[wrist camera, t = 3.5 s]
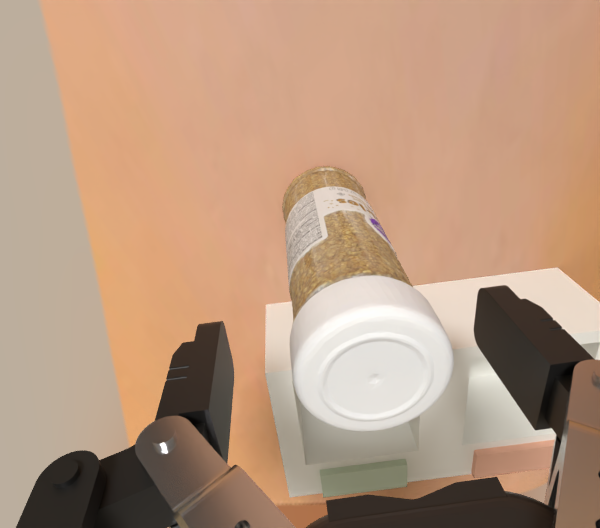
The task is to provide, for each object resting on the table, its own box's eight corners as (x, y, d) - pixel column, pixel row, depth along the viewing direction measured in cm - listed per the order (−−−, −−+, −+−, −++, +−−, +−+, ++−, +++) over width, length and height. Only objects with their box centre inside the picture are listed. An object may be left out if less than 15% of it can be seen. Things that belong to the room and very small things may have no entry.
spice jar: (381, 195, 23) (494, 364, 12) (328, 256, 25) (380, 458, 13) (315, 145, 22) (369, 280, 10) (263, 213, 23) (258, 398, 12)
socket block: (557, 267, 26) (635, 331, 21) (531, 390, 31) (588, 469, 26) (265, 304, 26) (265, 379, 21) (286, 422, 31) (290, 507, 26)
